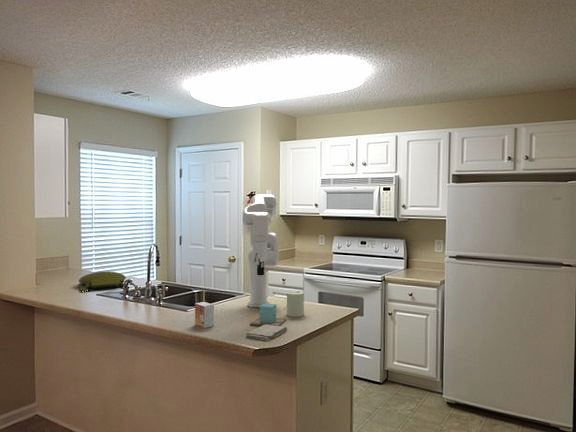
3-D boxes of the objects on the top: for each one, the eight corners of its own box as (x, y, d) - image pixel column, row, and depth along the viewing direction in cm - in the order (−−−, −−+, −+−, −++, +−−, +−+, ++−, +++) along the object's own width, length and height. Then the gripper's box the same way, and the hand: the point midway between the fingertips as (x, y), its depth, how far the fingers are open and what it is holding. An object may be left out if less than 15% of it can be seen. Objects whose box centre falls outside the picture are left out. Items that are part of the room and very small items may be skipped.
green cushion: (130, 289, 310) (130, 274, 309) (80, 293, 295) (80, 278, 295) (122, 280, 341) (122, 267, 340) (77, 284, 326) (77, 271, 326)
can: (307, 313, 240) (307, 291, 239) (298, 317, 232) (298, 294, 231) (292, 311, 244) (291, 289, 244) (283, 315, 236) (283, 292, 236)
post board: (259, 318, 230) (259, 303, 230) (285, 320, 226) (285, 305, 226) (249, 325, 218) (249, 310, 217) (277, 327, 214) (277, 312, 213)
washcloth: (244, 339, 198) (244, 332, 198) (264, 328, 214) (264, 322, 214) (268, 342, 193) (268, 335, 193) (287, 331, 209) (287, 325, 209)
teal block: (264, 318, 226) (264, 303, 225) (276, 319, 224) (276, 304, 224) (259, 322, 220) (259, 306, 220) (272, 323, 218) (272, 307, 218)
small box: (194, 325, 219) (194, 303, 219) (204, 322, 223) (204, 301, 223) (204, 328, 214) (204, 306, 213) (214, 326, 217) (213, 304, 217)
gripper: (258, 236, 234) (258, 271, 235) (247, 240, 220) (248, 277, 221) (272, 236, 232) (272, 272, 233) (262, 240, 217) (262, 278, 219)
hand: (260, 274), depth 227 cm, fingers closed
